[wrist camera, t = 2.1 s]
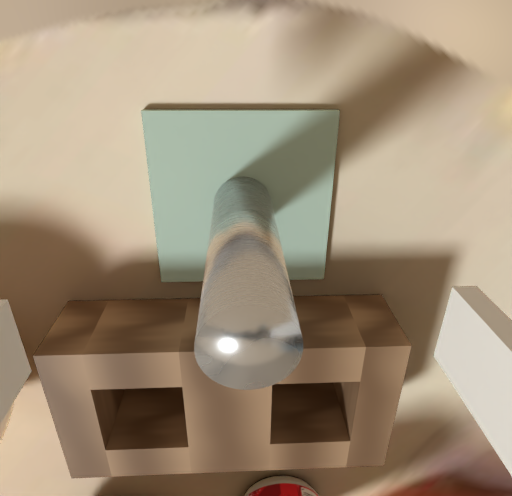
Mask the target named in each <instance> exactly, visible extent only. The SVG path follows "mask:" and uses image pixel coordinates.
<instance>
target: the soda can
mask: <svg viewBox="0 0 512 496" xmlns="http://www.w3.org/2000/svg"><path fill="white" fill-rule="evenodd" d="M244 496H319V495H318V494H317V492H316V491H315V490H314V489H313V488H312V487H311V486H309V485H308V484H307V483H306V482H305V481H303V480H301V479H299V478H295V477H291V476H274V477H269V478H266V479H263V480H261V481H259V482H257V483H255V484H254V485H253V486H251V487H250V488H249V489H248V491H247V492H246V494H245V495H244Z"/></svg>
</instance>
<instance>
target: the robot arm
mask: <svg viewBox="0 0 512 496" xmlns="http://www.w3.org/2000/svg"><path fill="white" fill-rule="evenodd" d="M434 358H435V359H436V361H437V362H438V364H439V365H440V367H441V368H442V370H443V371H444V373H445V374H446V376H447V377H448V379H449V381H450V382H451V384H452V385H453V387H454V388H455V390H456V391H457V393H458V394H459V396H460V397H461V399H462V400H463V402H464V404H465V405H466V407H467V408H468V410H469V411H470V413H471V414H472V416H473V417H474V419H475V420H476V422H477V423H478V425H479V427H480V428H481V430H482V431H483V433H484V434H485V436H486V437H487V439H488V440H489V442H490V443H491V445H492V446H493V448H494V450H495V451H496V453H497V454H498V456H499V457H500V459H501V460H502V462H503V463H504V465H505V466H506V468H507V469H508V471H509V473H510V474H511V476H512V320H511V319H510V318H509V317H508V316H507V315H506V314H505V313H503V312H502V311H501V310H500V309H499V308H498V307H497V306H496V305H495V304H494V303H493V302H492V301H491V300H490V299H489V298H488V297H487V296H486V295H485V294H484V293H483V292H482V291H481V290H480V289H479V288H478V287H477V286H460V287H452V290H451V294H450V297H449V301H448V305H447V308H446V312H445V316H444V319H443V323H442V326H441V330H440V334H439V337H438V341H437V345H436V348H435V352H434ZM31 372H32V371H31V368H30V365H29V362H28V359H27V356H26V353H25V350H24V347H23V344H22V341H21V338H20V335H19V332H18V329H17V326H16V323H15V320H14V317H13V314H12V311H11V308H10V305H9V302H8V299H4V300H0V424H1V422H2V421H3V419H4V417H5V416H6V414H7V412H8V410H9V409H10V407H11V405H12V404H13V402H14V400H15V399H16V397H17V395H18V394H19V392H20V390H21V389H22V387H23V385H24V384H25V382H26V380H27V378H28V377H29V375H30V373H31Z"/></svg>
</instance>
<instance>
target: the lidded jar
mask: <svg viewBox="0 0 512 496" xmlns="http://www.w3.org/2000/svg"><path fill="white" fill-rule="evenodd" d="M13 405H14V402H13V404H12V405H11V407H10V409H9V410H8V412H7V414H6V416H5V417H4V419H3V421H2V422H1V424H0V442H1V440H2V438H3V435H4V433H5V430H6V428H7V426H8V423H9V421H10V417H11V414H12V410H13Z"/></svg>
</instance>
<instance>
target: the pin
mask: <svg viewBox="0 0 512 496" xmlns="http://www.w3.org/2000/svg"><path fill="white" fill-rule="evenodd" d="M194 353H195V358H196V361H197V363H198V365H199V367H200V368H201V370H202V371H203V372H204V373H205V374H206V375H207V376H208V377H209V378H210V379H212V380H213V381H215V382H217V383H219V384H221V385H223V386H226V387H229V388H234V389H241V390H253V389H260V388H265V387H268V386H271V385H274V384H276V383H278V382H280V381H282V380H283V379H285V378H286V377H287V376H288V375H290V374H291V373H292V372H293V371H294V369H295V368H296V367H297V365H298V364H299V362H300V360H301V357H302V354H303V338H302V334H301V329H300V325H299V320H298V316H297V312H296V307H295V303H294V299H293V294H292V290H291V285H290V281H289V277H288V272H287V268H286V263H285V259H284V255H283V250H282V246H281V242H280V237H279V233H278V228H277V224H276V220H275V215H274V211H273V207H272V202H271V198H270V195H269V192H268V190H267V189H266V187H265V186H264V185H263V184H262V183H261V182H259V181H258V180H256V179H254V178H250V177H243V176H242V177H235V178H232V179H229V180H227V181H226V182H224V183H223V184H222V185H221V186H220V187H219V189H218V190H217V192H216V195H215V198H214V205H213V212H212V219H211V227H210V234H209V241H208V249H207V256H206V263H205V271H204V278H203V285H202V292H201V300H200V307H199V314H198V322H197V329H196V336H195V344H194Z"/></svg>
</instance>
